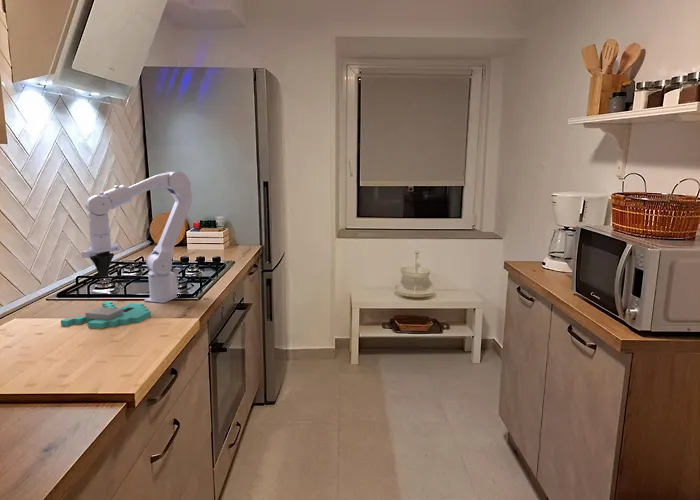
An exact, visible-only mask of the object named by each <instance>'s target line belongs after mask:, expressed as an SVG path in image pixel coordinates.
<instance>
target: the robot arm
mask: <svg viewBox="0 0 700 500" xmlns="http://www.w3.org/2000/svg"><path fill="white" fill-rule="evenodd" d="M191 184H192V182H191V181H190V179H189V177H188V175H186V173H184V172H182V171H172V170H171V171H170V170H169V171H166V172H164V173H158V174H156V175H153V176H150V177H148V178H146V179H143V180H141V181H139V182H137V183H135V184H133V185H130V186H126V185H123V184H121V185H120V184H116V185H114V186H113V187H114V188H111V189H109V190H106V191H100V192H98V193H99V195H92V196H90V197H88V199H87V200H86V203H85V208H86V210H87V212H88V215H87V216H88V230H89V240H90V241H89V242H90V247H88V249H85V250H83V251H82V250H81V251H80V253H81V258H82V259H90V260H91V261H92V263H93V264H94V267H95V268H96V270H97V273H98V276H99V277H103V278H106V277H108V275H109V272H110V266H111V263H112V260H113V258H114V257H115V256H114V253H113V252H115V251H117V252H118V251H120V250H121V247H120V244H118V243H116V244H115V243H114V244H113V243H112V240H111V233H110V232H111V229H110V219H109V211H110V210H114V209H117V208H119V207H121V206H123V205H126V204H128V203H131V202H132V200H133V198H134V197H135V196H137V195H140V194H142V193H145V192H148V191H150V190H153V189H156V188H161V189H162V188H163V189H166V190H167V191H168V192H169V193H170V194H171V196H172V198H173V199H174V204H173V206H172V208H171V211H170V214H169V215H168V216H169V217H168V218H167V221H166V223H165V225H164V226H165V227H164V228H163V230H162V233H161V236H160V237H159V241H158V243H157V244H156V246H155V247H154V248H153V250H152V252H151V253H150V254H149V255H148V256H147V257H146V261H145V264H146V267H147V268H148V269H149V270H148V273H147V274H148V289H149V297H147V298H145V299H143V300H144V302H151V303H163V304H164V303H165V304H166V303H167V302H169V301H172V300H174V299H176V298H179V297H180V296H179V295H178V296H179V297H178V296H177V294H179V289H178V286H179V285H178V276H177V275H176V274H175V273H174V272H173V271H171V270H172V268H173V259H174V249H175V247H176V243H177V241H178V238H179V235H180V233H181V230H182V228H183V226H184V223H185V221H186V218H187V216H188V213H189V211H190V208H191V205H192V203H193V198H192V196H193V195H192V190H191Z"/></svg>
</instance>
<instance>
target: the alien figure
mask: <svg viewBox="0 0 700 500" xmlns="http://www.w3.org/2000/svg"><path fill="white" fill-rule="evenodd" d="M144 304H145V303H134V302H133V303H132V302H131V303H128V304H126V305H124V306H121V307H120V308H118V309H123V315H120V316H118V317H116V318H113V319H111V320H101V319H90V318H86V316H76V317H73V318H69V317H68V318H67V317H65V318H64V319H62V320H60V326H62V327H69V326H72V325H82V324H84V322H85V323H87V326H88V328H89V329H99V330H102V329H105V328H106V327H110V328H114V327H115V328H116V327H117V326H119V325H123V326H127V325H129V324H131V323H133V324H138V323H140V322H142V321H144V320H146V319H148V318H149V317H151V316H152V315H151V311H150V310H149V308H147V306H145V305H144ZM101 307H105V308H117V306H116V304H115V303H114V301H105V302H102V304H101Z"/></svg>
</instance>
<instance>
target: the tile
mask: <svg viewBox="0 0 700 500" xmlns="http://www.w3.org/2000/svg"><path fill="white" fill-rule="evenodd" d="M84 314H85V317H86V318H90V319H101V320H111V319H113V318H116V317H118V316H120V315H123V309H119V308H117V307H116V308H105V307H102V306H100V307H98V308H94V309H92V310H89V311H87V312H85V313H84Z"/></svg>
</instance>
